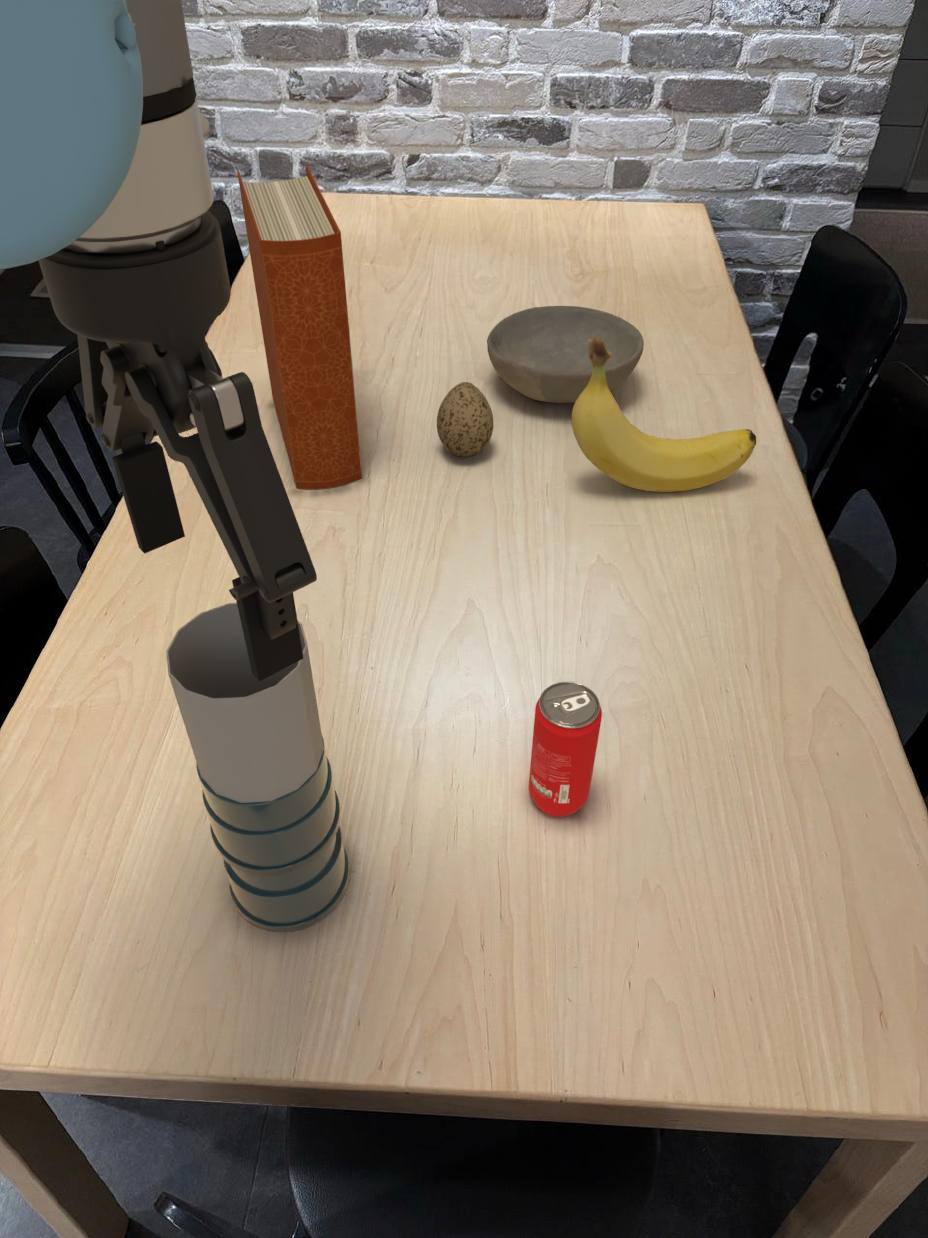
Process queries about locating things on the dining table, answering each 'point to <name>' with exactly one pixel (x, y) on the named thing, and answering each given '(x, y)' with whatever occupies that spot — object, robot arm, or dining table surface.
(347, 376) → the book
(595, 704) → the beverage can
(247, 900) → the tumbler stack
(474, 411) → the decorative egg
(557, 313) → the bowl
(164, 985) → the dining table surface
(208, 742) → the cup
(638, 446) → the banana
